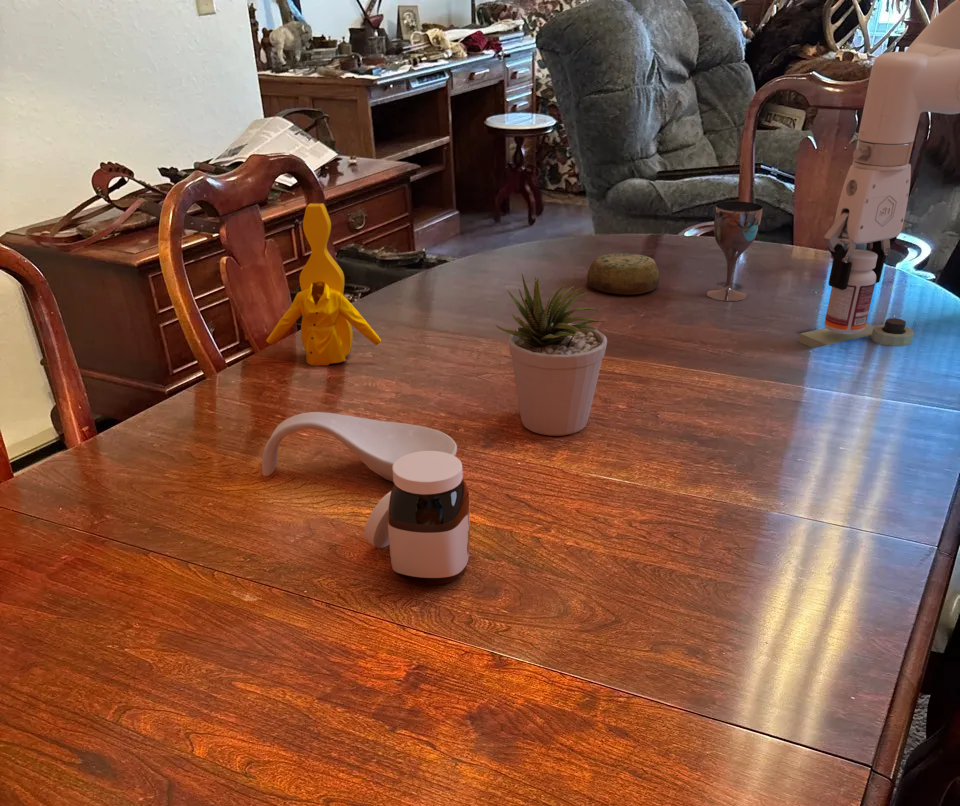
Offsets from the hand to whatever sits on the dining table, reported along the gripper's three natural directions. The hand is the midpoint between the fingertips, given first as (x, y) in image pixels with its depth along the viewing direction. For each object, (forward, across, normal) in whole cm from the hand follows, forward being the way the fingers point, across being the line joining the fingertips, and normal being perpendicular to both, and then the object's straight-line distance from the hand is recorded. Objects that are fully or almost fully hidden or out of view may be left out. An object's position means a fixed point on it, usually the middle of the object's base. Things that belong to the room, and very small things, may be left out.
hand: (854, 283), depth 146 cm
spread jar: (+10, -87, -26) cm, 91 cm away
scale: (+10, +2, -2) cm, 10 cm away
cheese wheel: (+10, -11, +44) cm, 46 cm away
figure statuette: (+10, -73, +36) cm, 82 cm away
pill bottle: (+7, 0, 0) cm, 7 cm away
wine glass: (+10, +2, +30) cm, 31 cm away
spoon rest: (+10, -84, -4) cm, 85 cm away
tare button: (+7, +5, -5) cm, 10 cm away
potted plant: (+10, -56, -2) cm, 57 cm away
